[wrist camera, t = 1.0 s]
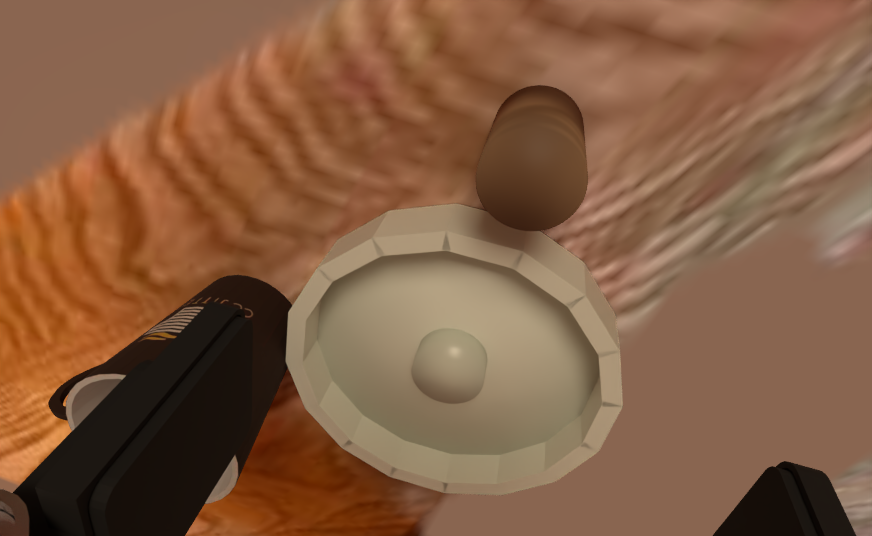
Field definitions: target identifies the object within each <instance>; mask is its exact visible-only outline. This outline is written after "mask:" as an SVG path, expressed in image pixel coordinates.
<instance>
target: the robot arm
mask: <svg viewBox="0 0 872 536" xmlns="http://www.w3.org/2000/svg"><path fill="white" fill-rule="evenodd" d="M252 364H253V322H252V320H249V319H246V318H245V312H244V310H242V309H240V308H236V307H233V306H229V305H225V304H222V303H218V302H215V301H212V302H209V303H208V304H207V305H206V306H205V307H204V308H203V309H202V310H201V311H200V312H199V313H198V314H197V315H196V316H195V317H194V318H193V319H192V320H191V322H190V323H189V324H188V325H187V326H186V327H185V328H184V329H183V330H182V331H181V332H180V333H179V334H178V335H177V336H176V338H175V339H174V340H173V341H172V342H171V343H170V344H169V345H168V346H167V347H166V348H165V349H164V350H163V351H162V352H161V353H160V355H159V356H158V357H157V358H156V359H155V360H145V361H143V362H140V363H139V364H138V365H137V366H136V367H134V368H133V369H132V370H131V371H130V372H129V373H128V374H127V375H126V376H125V377H124V378H123V379H122V380H121V382H120V383H119V384H118V385H117V386H116V387H115V388H114V389H113V390H112V391H111V392H110V393H109V394H108V395H107V396H106V397H105V398H104V399H103V400H102V401H101V402H100V403H99V404H98V405H97V406H96V407H95V408H94V409H93V410H92V411H91V412H90V413H89V415H88V416H87V417H86V418H85V419H84V420H83V421H82V422H81V423H80V424H79V425H78V426H77V427H76V428H75V429H74V430H73V431H72V432H71V433H70V434H69V435H68V436H67V437H66V438H65V439H64V440H63V441H62V442H61V443H60V444H59V445H58V447H57V448H56V449H55V450H54V451H53V452H52V453H51V454H50V455H49V456H48V457H47V458H46V459H45V460H44V461H43V462H42V463H41V464H40V465H39V466H38V467H37V468H36V469H35V470H34V471H33V472H32V473H31V474H30V475H29V476H28V477H27V478H26V480H25V481H24V482H23V483H22V484H21V485H20V486H19V487H18V488H17V489H16V490H15V491H14V492H13V493H11V492H8V491H6V490H3V489H0V536H185V535H186V533H187V531H188V530H189V528H190V526H191V525H192V523H193V522H194V520H195V518H196V517H197V515H198V514H199V512H200V510H201V509H202V507H203V506H204V504H205V502H206V501H207V499H208V497H209V496H210V494H211V493H212V491H213V489H214V488H215V486H216V485H217V483H218V481H219V480H220V478H221V477H222V475H223V473H224V472H225V470H226V468H227V467H228V465H229V464H230V462H231V460H232V459H233V457H234V456H235V454H236V452H237V451H238V449H239V448H240V446H241V444H242V443H243V441H244V439H245V438H246V436H247V434H248V431H249V429H250V426H251V421H252ZM713 536H856V534H855V532H854V530H853V528H852V526H851V524H850V522H849V520H848V518H847V515H846V513H845V511H844V509H843V507H842V505H841V503H840V501H839V499H838V496H837V494H836V492H835V490H834V488H833V486H832V484H831V482H830V480H829V478H828V477H827V475H826V474H825V473H823V472H822V471H819V470H815V469H812V468H809V467H805V466H801V465H798V464H794V463H791V462H786V461H784V462H781V463H780V464H778V465H777V466H776V467H773V466H772V467H769V468H767V469H766V470H765V472H764V473H763V474H762V475H761V476H760V478H759V479H758V480H757V481H756V483H755V484H754V485H753V486H752V488H751V489H750V490H749V492H748V493H747V494H746V495H745V496H744V498H743V499H742V500H741V501H740V503H739V504H738V505H737V506H736V507H735V509H734V510H733V511H732V512H731V514H730V515H729V516H728V517H727V519H726V520H725V521H724V522H723V524H722V525H721V526H720V527H719V528H718V530H717V531H716V532H715V533H714V535H713Z"/></svg>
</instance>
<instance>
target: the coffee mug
mask: <svg viewBox="0 0 872 536" xmlns="http://www.w3.org/2000/svg"><path fill="white" fill-rule="evenodd" d="M212 301H215V302H218V303H222V304H225V305H229V306H233V307H236V308H240V309H242V310H244V312H245V318H246V319H249V320H252V322H253V364H252V421H251V426H250V429H249V431H248V434H247V436H246V438H245V439H244V441H243V443H242V444H241V446H240V448H239V449H238V451H237V452H236V454H235V456H234V457H233V459H232V460H231V462H230V464H229V465H228V467H227V468H226V470H225V472H224V473H223V475H222V477H221V478H220V480H219V481H218V483H217V485H216V486H215V488H214V489H213V491H212V493H211V494H210V496H209V497H208V499H207V501H206V502H205V504H208V503H212V502H215V501H217V500H220V499H222V498H223V497H225V496H226V495H228V494H229V493H230V492H231V490H232V489H233V488H234V486H235V485H236V483H237V480H238V478H239V476H240V474H241V471H242V469H243V467H244V464H245V462H246V460H247V458H248V455H249V453H250V451H251V449H252V446H253V444H254V442H255V440H256V437H257V435H258V433H259V431H260V428H261V426H262V424H263V422H264V419H265V417H266V415H267V412H268V410H269V408H270V406H271V403H272V401H273V399H274V397H275V394H276V392H277V390H278V388H279V385H280V383H281V381H282V379H283V376H284V374H285V372H286V370H287V367H288V366H287V364H286V344H287V326H288V312H289V310H290V309H291V307H292V305H291V303H290V302H289V301H288V300H287V299H286V297H285V296H284V295H283V294H281V293H280V292H279V291H278V290H277V289H275V288H274V287H272V286H271V285H269V284H267V283H266V282H263V281H261V280H259V279H256V278H252V277H249V276H242V275H232V276H226V277H223V278H220V279H218V280H216V281H215V282H213V283H212V284H211V285H209V286H208V287H206V288H205V289H204V290H202V291H201V292H200V293H198V294H197V295H196V296H194V297H193V298H192V299H190V300H189V301H188V302H186V303H185V304H184V305H182V306H181V307H179V308H178V309H177V310H175V311H174V312H173V313H171V314H170V315H169V316H167V317H166V318H165V319H163V320H162V321H161V322H159V323H158V324H157V325H155V326H154V327H152V328H151V329H150V330H148V331H147V332H146V333H144V334H143V335H142V336H140V337H139V338H138V339H136V340H135V341H134V342H132V343H131V344H129V345H128V346H127V347H125V348H124V349H123V350H121V351H120V352H119V353H117V354H116V355H115V356H113V357H112V358H111V359H109V360H108V361H107V362H105V363H104V364H101V365H99V366H96V367H94V368H91V369H89V370H87V371H85V372H83V373H81V374H79V375H77V376H75V377H73V378H71V379H70V380H68V381H67V382H65V383H64V384H63V385H61V386H60V387H59V388H58V389H57V390H56V392H55V393H54V394H53V395H52V397H51V398H50V400H49V402H48V404H49V408H50V409H51V411H52V413H53V414H54V415H55V416H56V417H58V418H60V419H63V420H68V423H69V426H70V428H71V430H72V431H73V430H74V429H75V428H76V427H77V426H78V425H79V424H80V423H81V422H82V421H83V420H84V419H85V418H86V417H87V416H88V415H89V413H90V412H91V411H92V410H93V409H94V408H95V407H96V406H97V405H98V404H99V403H100V402H101V401H102V400H103V399H104V398H105V397H106V396H107V395H108V394H109V393H110V392H111V391H112V390H113V389H114V388H115V387H116V386H117V385H118V384H119V383H120V382H121V380H122V379H123V378H124V377H125V376H126V375H127V374H128V373H129V372H130V371H131V370H132V369H133V368H134V367H136V366H137V365H138V364H139V363H140V362H143V361H145V360H155V359H156V358H157V357H158V356H159V355H160V353H161V352H162V351H163V350H164V349H165V348H166V347H167V346H168V345H169V344H170V343H171V342H172V341H173V340H174V339H175V338H176V336H177V335H178V334H179V333H180V332H181V331H182V330H183V329H184V328H185V327H186V326H187V325H188V324H189V323H190V322H191V320H192V319H193V318H194V317H195V316H196V315H197V314H198V313H199V312H200V311H201V310H202V309H203V308H204V307H205V306H206V305H207V304H208V303H209V302H212ZM68 394H69V395H68ZM67 395H68V398H67V401H66V407H65V406H63V402H64V399H65V398H66V396H67Z"/></svg>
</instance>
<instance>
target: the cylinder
mask: <svg viewBox="0 0 872 536" xmlns="http://www.w3.org/2000/svg"><path fill="white" fill-rule="evenodd" d="M587 185H588V172H587V160H586V148H585V136H584V124H583V118H582V115H581V112H580V110H579V108H578V106H577V104H576V103H575V102H574V101H573V99H572V98H571V97H569V96H568V95H567V94H566V93H564V92H563V91H561V90H559V89H557V88H553V87H550V86H541V85H538V86H530V87H526V88H523V89H521V90H519V91H517V92H515V93H514V94H512V95H511V96H510V97H509V98H507V99H506V100H505V102H504V103H503V104H502V105H501V107H500V108H499V110H498V112H497V114H496V117H495V120H494V123H493V125H492V128H491V131H490V133H489V136H488V139H487V141H486V144H485V147H484V150H483V152H482V155H481V158H480V160H479V163H478V167H477V171H476V189H477V193H478V196H479V198H480V201H481V203H482V204H483V206H484V208H485V209H486V210H487V212H488V213H489V214H490V215H491V216H492V217H494V218H495V219H496V220H497V221H499V222H500V223H502V224H504V225H506V226H508V227H511V228H514V229H517V230H522V231H540V230H546V229H549V228H552V227H555V226H557V225H559V224H561V223H563V222H564V221H566V220H567V219H568V218H570V217H571V216H572V215H573V214H574V213H575V211H576V210H577V209H578V208H579V206H580V205H581V203H582V201H583V199H584V197H585V194H586V190H587Z"/></svg>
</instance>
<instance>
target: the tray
mask: <svg viewBox="0 0 872 536" xmlns="http://www.w3.org/2000/svg"><path fill="white" fill-rule="evenodd" d="M286 364H287V366H288V369H289V371H290V373H291V376H292V378H293V381H294V383H295V385H296V388H297V390H298V393H299V395H300V397H301V400H302V402H303V405H304V407H305V409H306V410H307V411H308V412H309V413H310V414H311V415H312V416H313V417H314V419H315V420H316V421H317V422H318V423H319V424H320V425H321V426H322V427H323V428H324V429H325V430H326V432H327V433H328V434H329V435H330V436H331V437H332V438H333V439H334V440H335V441H336V442H337V443H338V444H339V446H340V447H341V448H343V449H344V450H346V451H348V452H349V453H351V454H353V455H354V456H356V457H358V458H359V459H361V460H363V461H364V462H366V463H368V464H369V465H371V466H373V467H374V468H376V469H378V470H379V471H381V472H383V473H384V474H386V475H388V476H389V477H392V478H395V479H399V480H402V481H405V482H409V483H412V484H416V485H419V486H422V487H426V488H429V489H432V490H436V491H439V492H442V493H451V494H478V495H506V494H509V493H513V492H517V491H521V490H525V489H529V488H533V487H537V486H541V485H545V484H549V483H552V482H556V481H557V480H559V479H560V478H562V477H563V476H565V475H566V474H567V473H569V472H570V471H572V470H573V469H575V468H576V467H577V466H579V465H580V464H582V463H583V462H585V461H586V460H588V459H589V458H590V457H592V456H593V455H595V454H596V453H598V452H599V450H600V448H601V446H602V444H603V443H604V441H605V439H606V437H607V435H608V433H609V431H610V430H611V428H612V426H613V424H614V422H615V420H616V418H617V416H618V415H619V413H620V411H621V409H622V407H623V400H622V383H621V363H620V347H619V339H618V331H617V323H616V315H615V313H614V312H613V310H612V308H611V307H610V305H609V303H608V302H607V300H606V298H605V297H604V295H603V293H602V292H601V290H600V288H599V287H598V285H597V283H596V282H595V280H594V278H593V277H592V275H591V273H590V272H589V270H588V268H587V267H586V265H585V263H584V262H583V261H581V260H580V259H578V258H577V257H576V256H574V255H573V254H572V253H570V252H569V251H567V250H566V249H565V248H563V247H562V246H560V245H559V244H558V243H556V242H555V241H553V240H552V239H551V238H549V237H548V236H546V235H545V234H544V233H542V232H541V231H522V230H517V229H514V228H511V227H508V226H506V225H504V224H502V223H500V222H499V221H497V220H496V219H495V218H494V217H492V216H491V215H490V214H489V213H488V212H487V211H484V210H480V209H476V208H473V207H469V206H465V205H461V204H447V205H438V206H428V207H418V208H409V209H399V210H390V211H388V212H386V213H384V214H382V215H381V216H379V217H377V218H375V219H374V220H372V221H370V222H368V223H366V224H365V225H363V226H361V227H359V228H358V229H356V230H354V231H352V232H350V233H349V234H347V235H345V236H343V237H342V238H340V239H338V240H337V241H336V243H335V244H334V246H333V247H332V248H331V250H330V251H329V252H328V254H327V255H326V257H325V258H324V259H323V261H322V262H321V263H320V265H319V266H318V268H317V269H316V271H315V272H314V274H313V275H312V277H311V278H310V280H309V281H308V283H307V284H306V286H305V287H304V289H303V291H302V292H301V294H300V295H299V297H298V298H297V300H296V301H295V303H294V304H293V306H292V307H291V309H290V310H289V312H288V326H287V344H286Z"/></svg>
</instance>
